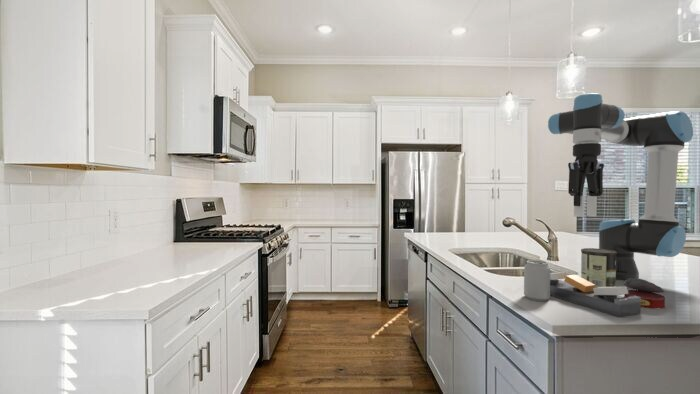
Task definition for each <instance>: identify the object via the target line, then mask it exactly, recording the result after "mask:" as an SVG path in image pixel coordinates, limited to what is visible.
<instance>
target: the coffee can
mask: <svg viewBox="0 0 700 394" xmlns="http://www.w3.org/2000/svg"><path fill="white" fill-rule="evenodd" d="M580 252H581V253H580V254H581V256H580V257H581V258H580V259H581V263H580V268H581V269H580V277H581V278H583V279H585V280H587V281H589V282H591V283H593V284H595V285H596V286H595V288H598V287H617V286H616V254H617V252H616V251H612V250H607V249H599V248H593V247H586V248H584V247H583V248H581V249H580Z"/></svg>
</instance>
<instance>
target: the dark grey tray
mask: <svg viewBox="0 0 700 394" xmlns="http://www.w3.org/2000/svg"><path fill="white" fill-rule="evenodd" d="M550 297H554V298H557V299H560V300H563V301H566V302H570V303H573V304H575V305H578V306H582V307H585V308H588V309H592V310H595V311H598V312H602V313H604V314H608V315H611V316H614V317H618V318H624V317H629V316H635V315H639V314H641V308H642V307H641V297H638V296H629V297H624V296H622V295H594V291H589V292H583V291H581V290H580V289H578V288H576V287H574V286H572V285H570V284H569V283H567V282H565V281H564V280H562V279H555V280H550Z"/></svg>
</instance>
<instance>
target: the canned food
mask: <svg viewBox="0 0 700 394" xmlns="http://www.w3.org/2000/svg"><path fill="white" fill-rule="evenodd" d="M626 286H627V290H628V294H623V297H629V296H638V297H641V308H646V309H655V308H660V309H664V308H665V306H666V297H665V296H664V295H663V294H662V293H665V289H663V288H662V287H661V286H659V285H657V284H655V283H654V282H651V281H648V280H646V279H643V278H629V279H625V281H624V282H623V287H626Z"/></svg>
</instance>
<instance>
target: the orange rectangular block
mask: <svg viewBox="0 0 700 394" xmlns="http://www.w3.org/2000/svg"><path fill="white" fill-rule="evenodd" d="M566 275H567V276H566V277H565V279H563V281H565V282H567V283H569V284H570V285H572V286H574V287H576V288H578V289H580V290H581V291H583V292H589V291H594V290H593V288H595V286H596V285H595V284H593V283H591V282H589V281H587V280H585V279H583V278H581V276H579V275H578V274H566Z"/></svg>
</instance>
